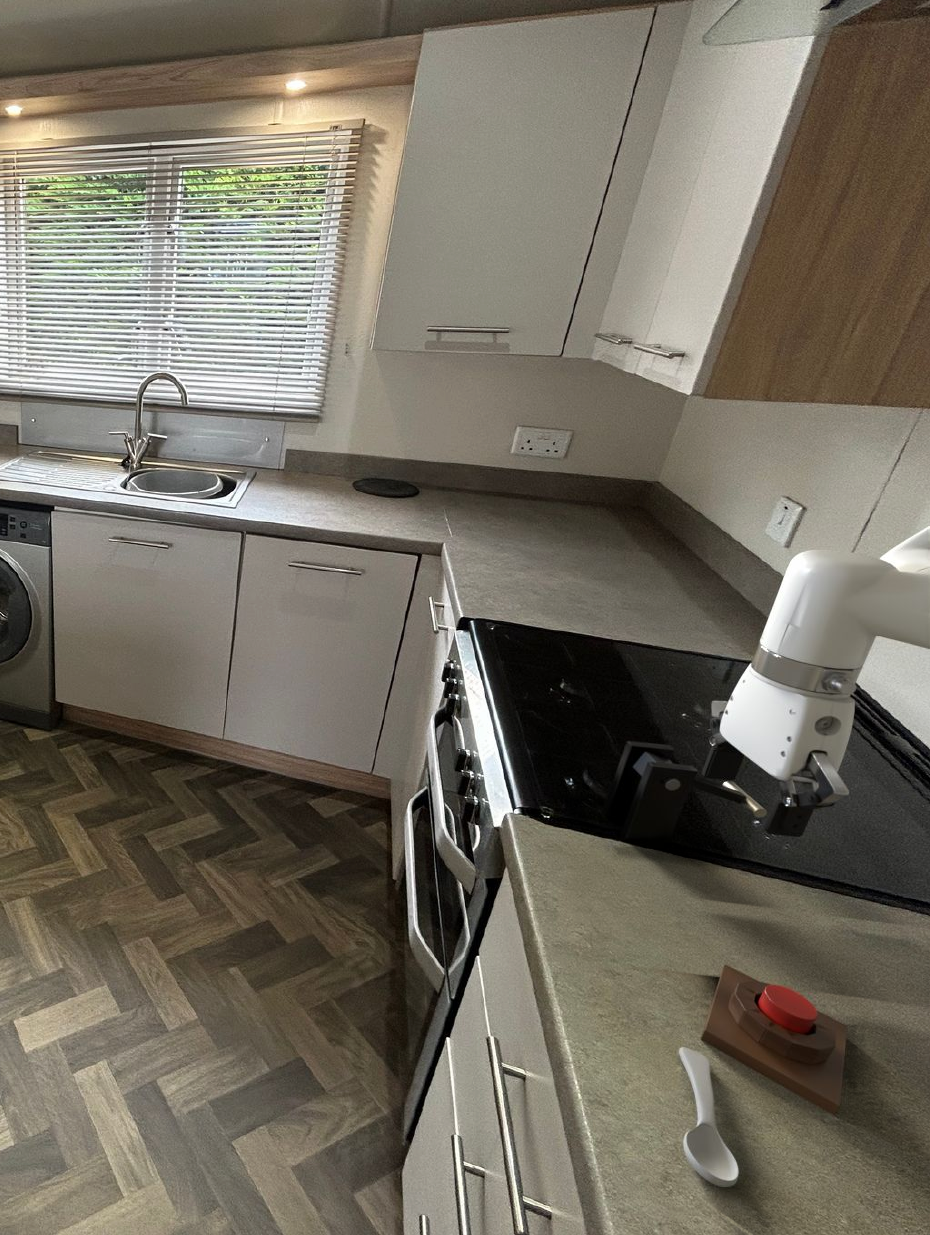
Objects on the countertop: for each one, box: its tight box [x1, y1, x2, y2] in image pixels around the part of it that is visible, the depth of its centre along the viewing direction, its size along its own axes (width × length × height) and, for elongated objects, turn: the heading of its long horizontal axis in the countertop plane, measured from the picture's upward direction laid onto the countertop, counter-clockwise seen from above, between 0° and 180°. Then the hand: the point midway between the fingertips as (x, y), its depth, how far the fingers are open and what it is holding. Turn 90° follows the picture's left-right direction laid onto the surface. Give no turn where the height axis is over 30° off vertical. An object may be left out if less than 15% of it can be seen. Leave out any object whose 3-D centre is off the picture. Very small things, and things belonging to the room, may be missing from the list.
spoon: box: [678, 1046, 740, 1188], centre depth 54 cm, size 3×12×2 cm, turn 144°
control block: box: [700, 963, 848, 1116], centre depth 60 cm, size 10×8×3 cm
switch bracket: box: [600, 740, 699, 847], centre depth 81 cm, size 11×9×12 cm
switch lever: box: [633, 751, 768, 819], centre depth 79 cm, size 12×5×2 cm, turn 80°
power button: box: [758, 984, 818, 1034], centre depth 59 cm, size 3×3×2 cm
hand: (747, 804), depth 79 cm, fingers open, 9 cm apart
